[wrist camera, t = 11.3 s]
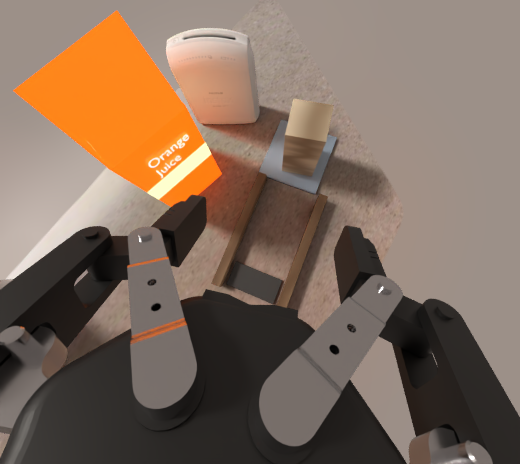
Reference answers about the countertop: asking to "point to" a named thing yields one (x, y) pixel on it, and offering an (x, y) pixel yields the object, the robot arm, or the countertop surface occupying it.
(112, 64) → the orange juice
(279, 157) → the mat
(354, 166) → the countertop surface
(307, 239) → the channel
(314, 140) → the beech block
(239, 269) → the mat
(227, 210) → the countertop surface
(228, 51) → the photo printer
